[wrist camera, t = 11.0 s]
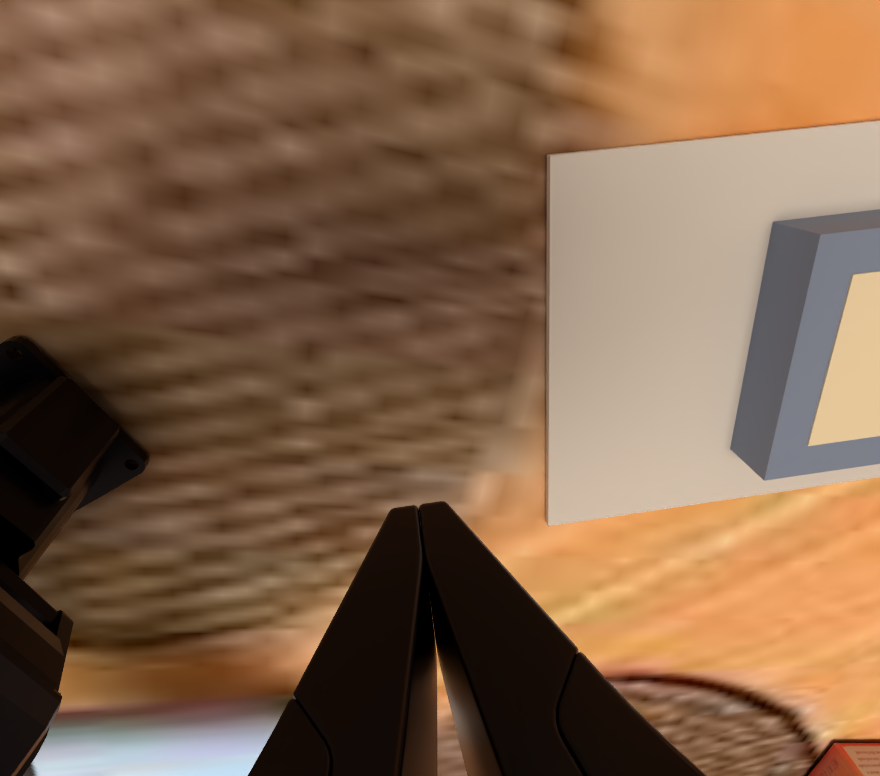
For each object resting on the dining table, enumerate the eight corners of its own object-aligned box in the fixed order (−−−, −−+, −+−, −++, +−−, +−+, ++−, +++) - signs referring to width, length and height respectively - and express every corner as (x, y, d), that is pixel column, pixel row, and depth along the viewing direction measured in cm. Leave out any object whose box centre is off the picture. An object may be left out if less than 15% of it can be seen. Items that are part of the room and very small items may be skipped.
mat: (545, 520, 26) (548, 526, 25) (546, 154, 18) (550, 155, 18) (1015, 451, 27) (1023, 455, 27) (1187, 87, 20) (1202, 86, 20)
